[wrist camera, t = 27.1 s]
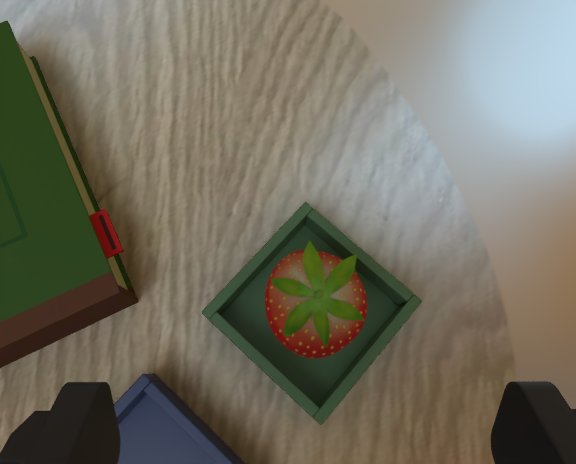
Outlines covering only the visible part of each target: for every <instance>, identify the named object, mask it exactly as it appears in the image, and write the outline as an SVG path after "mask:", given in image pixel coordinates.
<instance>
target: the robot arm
mask: <svg viewBox="0 0 576 464" xmlns="http://www.w3.org/2000/svg"><path fill="white" fill-rule="evenodd" d="M120 445H121V437H120V430H119V426H118V421H117V417H116V412H115V408H114V404H113V399H112V395H111V390H110V387H109V385H108V383H106V382H68V383H66V384H65V385H64V386H63V387H62V389H61V390H60V392H59V394H58V396H57V398H56V400H55V402H54V404H53V406H52V408H51V410H50V411H35V412H34V413H33V414H32V415H31V416H29V417H28V418H27V419H26V420H25V421H24V422H23V423H22V424H21V425H20V426H19V427H18V428H17V429H16V430H15V431H14V432H13V433H12V434H11V435H10V437H9V439H8V440H7V442H6V444H5V446H4V447H3V449H2V451H1V453H0V464H118V460H119V455H120ZM491 449H492V455H493V459H494V462H495V464H576V409H571V408H570V407H569V406H568V404H567V402H566V401H565V399H564V398H563V396H562V395H561V393H560V392H559V390H558V389H557V388H556V386H555V385H553V384H552V383H551V382H509V383H508V384H507V386H506V388H505V391H504V394H503V397H502V400H501V403H500V406H499V410H498V413H497V416H496V419H495V422H494V425H493V428H492V432H491Z"/></svg>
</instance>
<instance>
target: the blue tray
mask: <svg viewBox="0 0 576 464" xmlns="http://www.w3.org/2000/svg"><path fill="white" fill-rule="evenodd" d="M114 408H115V412H116V417H117V421H118V426H119V430H120V437H121V445H120V455H119V460H118V464H246V463H245V462H244V461H242V460H241V459H240V458H239V457H238V456H237V455H236V454H235V453H234V452H233V451H232V450H231V449H230V448H229V447H228V446H227V445H226V444H225V443H224V442H223V441H222V440H221V439H220V438H219V437H218V436H217V435H216V434H215V433H214V432H213V431H212V430H211V429H210V428H209V427H208V426H207V425H206V424H205V423H204V422H203V421H202V420H201V419H200V418H199V417H198V416H197V415H196V414H195V413H194V412H193V411H192V410H191V409H190V408H189V407H188V406H187V405H186V404H185V403H184V402H183V401H182V400H181V399H180V398H179V397H178V396H177V395H176V394H175V393H174V392H173V391H172V390H171V389H170V388H169V387H168V386H167V385H166V384H165V383H164V382H163V381H162V380H161V379H160V378H159V377H158V376H157V375H156V374H142V376H141V377H140V378H139V379H138V380H137V381H136V382H135V383H134V384H133V385H132V386H131V387H130V388H129V389H128V390H127V391H126V392H125V393H124V395H123V396H122V397H121V398H120V399H119V400H118V401H117V402H116V403H115V404H114Z"/></svg>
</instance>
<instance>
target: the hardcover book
mask: <svg viewBox="0 0 576 464" xmlns="http://www.w3.org/2000/svg"><path fill="white" fill-rule="evenodd" d="M123 251H124V250H123V248H122V246H121V243H120V241H119V239H118V236H117V234H116V232H115V229H114V227H113V225H112V222H111V220H110V218H109V215H108V213H107V211H106V209H103V210H101V211H100V210H99V207H98V205H97V203H96V200H95V198H94V195H93V193H92V191H91V188H90V186H89V184H88V181H87V179H86V177H85V174H84V172H83V169H82V167H81V165H80V162H79V160H78V158H77V155H76V153H75V151H74V148H73V146H72V143H71V141H70V139H69V136H68V134H67V132H66V129H65V127H64V125H63V122H62V120H61V117H60V115H59V113H58V110H57V108H56V106H55V103H54V101H53V99H52V96H51V94H50V91H49V89H48V87H47V84H46V82H45V80H44V77H43V75H42V73H41V70H40V68H39V65H38V63H37V61H36V58H35V57H34V56H33V57H30V58H29V56H28V55H27V54H26V53H25V51H24V50H23V49H22V47H21V46H20V45H19V44H18V42H17V41H16V39H15V36H14V34H13V32H12V29H11V27H10V24H9V23H8V21H4V22H2V23H0V368H1V367H3V366H5V365H7V364H9V363H11V362H13V361H15V360H17V359H20V358H22V357H24V356H26V355H28V354H30V353H32V352H34V351H36V350H38V349H41V348H43V347H45V346H47V345H49V344H51V343H53V342H55V341H57V340H59V339H62V338H64V337H66V336H68V335H70V334H72V333H74V332H76V331H78V330H80V329H83V328H85V327H87V326H89V325H91V324H93V323H95V322H97V321H99V320H101V319H104V318H106V317H108V316H110V315H112V314H114V313H116V312H118V311H120V310H123V309H125V308H127V307H129V306H131V305H133V304H135V303H137V302H138V299H137V297H136V295H135V292H134V290H133V288H132V285H131V283H130V281H129V278H128V276H127V273H126V271H125V269H124V266H123V264H122V262H121V259H120V257H119V255H118V254H119V253H121V252H123Z"/></svg>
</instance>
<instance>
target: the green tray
mask: <svg viewBox="0 0 576 464" xmlns="http://www.w3.org/2000/svg"><path fill="white" fill-rule="evenodd" d="M309 240H310V241H311V243H312V245H313V246H314V248H315V249H316V251H321V252H325V253H329V254H331V255H334V256H336V257H338V258H340V259H341V260H344V259H346V258H348V257H350V256H353V255H355V254H358V255H357V260H356V265H355V270H354V271H355V272H356V274H357V275H358V276H359V278H360V280H361V282H362V284H363V286H364V289H365V292H366V296H367V316H366V320H365V323H364V326H363V328H362V329H361V331H360V333H359V334H358V335H357V336H356V337H355V338H354V339H353V341H352V342H351V343H349V344H348V345H347V346H346V347H345V348H343V349H342V350H340V351H338V352H337V353H335V354H333V355H331V356H327V357H324V358H314V359H310V358H307V357H303V356H300V355H298V354H296V353H294V352H292V351H290V350H289V349H288V348H286V347H285V346H284V345H283V344H281V343H280V341H279V340H278V339H277V338H276V337H275V336H274V334H273V332H272V330H271V328H270V327H269V323H268V320H267V316H266V309H265V292H266V285H267V282H268V279H269V276H270V274H271V273H272V271H273V269H274V267H275V266H276V265H277V264H278V263H279V262H280V261H281V260H282V259H283V258H284V257H286V256H287V255H289V254H291V253H293V252H296V251H298V250H305V248H306V246H307V244H308V242H309ZM421 302H422V301H421V300H420V299H419V298H418V297H417V296H416V295H413V293H412V292H411V291H410V290H409V289H408V288H406V287H405V286H404V285H403V284H402V283H401V282H399V281H398V280H397V279H396V278H395V277H393V276H392V275H391V274H390V273H389V272H388V271H386V270H385V269H384V268H383V267H382V266H381V265H379V264H378V263H377V262H376V261H375V260H373V259H372V258H371V257H370V256H369V255H368V254H366V253H365V252H364V251H363V250H362V249H361V248H359V247H358V246H357V245H356V244H355V243H353V242H352V241H351V240H350V239H349V238H348V237H346V236H345V235H344V234H343V233H342V232H341V231H339V230H338V229H337V228H336V227H335V226H333V225H332V224H331V223H330V222H329V221H328V220H326V219H325V218H324V217H323V216H322V215H321V214H319V213H318V212H317V211H316V210H315V209H313V208H312V207H311V206H310V205H309V204H308V203H306V202H305V203H304V204H303V205H302V206H301V207H300V208H299V209H298V210H297V211H296V213H295V214H294V215H293V216H292V217H291V218H290V219H289V220H288V221H287V222H286V223H285V224H284V225H283V226H282V227H281V228H280V229H279V231H278V232H277V233H276V234H275V235H274V236H273V237H272V238H271V239H270V240H269V241H268V242H267V243H266V244H265V245H264V246H263V247H262V249H261V250H260V251H259V252H258V253H257V254H256V255H255V256H254V257H253V258H252V259H251V260H250V261H249V262H248V263H247V264H246V265H245V267H244V268H243V269H242V270H241V271H240V272H239V273H238V274H237V275H236V276H235V277H234V278H233V279H232V280H231V281H230V282H229V283H228V285H227V286H226V287H225V288H224V289H223V290H222V291H221V292H220V293H219V294H218V295H217V296H216V297H215V298H214V299H213V300H212V301H211V302H210V304H209V305H208V306H207V307H206V308H205V309H204V310H203V311H202V314H203V315H204V316H205V317H206V318H207V319H209V320H210V321H211V322H212V323H213V324H214V325H215V326H216V327H217V328H218V329H219V330H220V331H221V332H222V333H223V334H224V335H226V336H227V337H228V338H229V339H230V340H231V341H232V342H233V343H234V344H235V345H236V346H237V347H238V348H239V349H240V350H241V351H243V352H244V353H245V354H246V355H247V356H248V357H249V358H250V359H251V360H252V361H253V362H254V363H255V364H256V365H257V366H258V367H259V368H261V369H262V370H263V371H264V372H265V373H266V374H267V375H268V376H269V377H270V378H271V379H272V380H273V381H274V382H275V383H276V384H278V385H279V386H280V387H281V388H282V389H283V390H284V391H285V392H286V393H287V394H288V395H289V396H290V397H291V398H292V399H293V400H295V401H296V402H297V403H298V404H299V405H300V406H301V407H302V408H303V409H304V410H305V411H306V412H307V413H308V414H309V415H310V416H312V417H313V418H314V419H315V420H316V421H317V422H318V423H319V424H320V425H322V424H323V423H324V421H325V420H326V419H327V418H328V416H329V415H330V414H331V413H332V411H333V410H334V409H335V408H336V407H337V405H338V404H339V403H340V402H341V400H342V399H343V398H344V397H345V395H346V394H347V393H348V392H349V391H350V389H351V388H352V387H353V386H354V384H355V383H356V382H357V381H358V380H359V378H360V377H361V376H362V375H363V373H364V372H365V371H366V370H367V368H368V367H369V366H370V365H371V364H372V362H373V361H374V360H375V359H376V357H377V356H378V355H379V354H380V352H381V351H382V350H383V349H384V348H385V346H386V345H387V344H388V343H389V341H390V340H391V339H392V338H393V336H394V335H395V334H396V333H397V332H398V330H399V329H400V328H401V327H402V325H403V324H404V323H405V322H406V320H407V319H408V318H409V317H410V316H411V314H412V313H413V312H414V311H415V309H416V308H417V307H418V306H419V304H420V303H421Z"/></svg>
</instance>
